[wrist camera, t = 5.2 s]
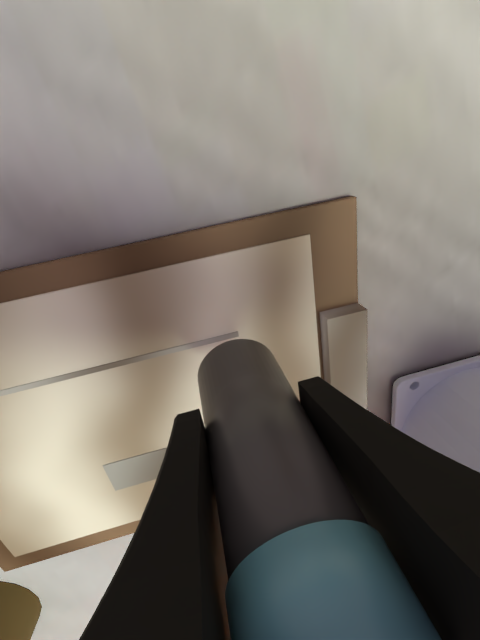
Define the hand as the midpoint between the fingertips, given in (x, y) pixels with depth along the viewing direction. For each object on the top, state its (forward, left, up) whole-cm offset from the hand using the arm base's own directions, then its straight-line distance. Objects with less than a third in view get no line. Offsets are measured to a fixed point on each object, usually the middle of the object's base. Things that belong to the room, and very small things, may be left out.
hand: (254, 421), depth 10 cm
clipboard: (+4, +3, -6) cm, 8 cm away
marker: (0, 0, -2) cm, 2 cm away
